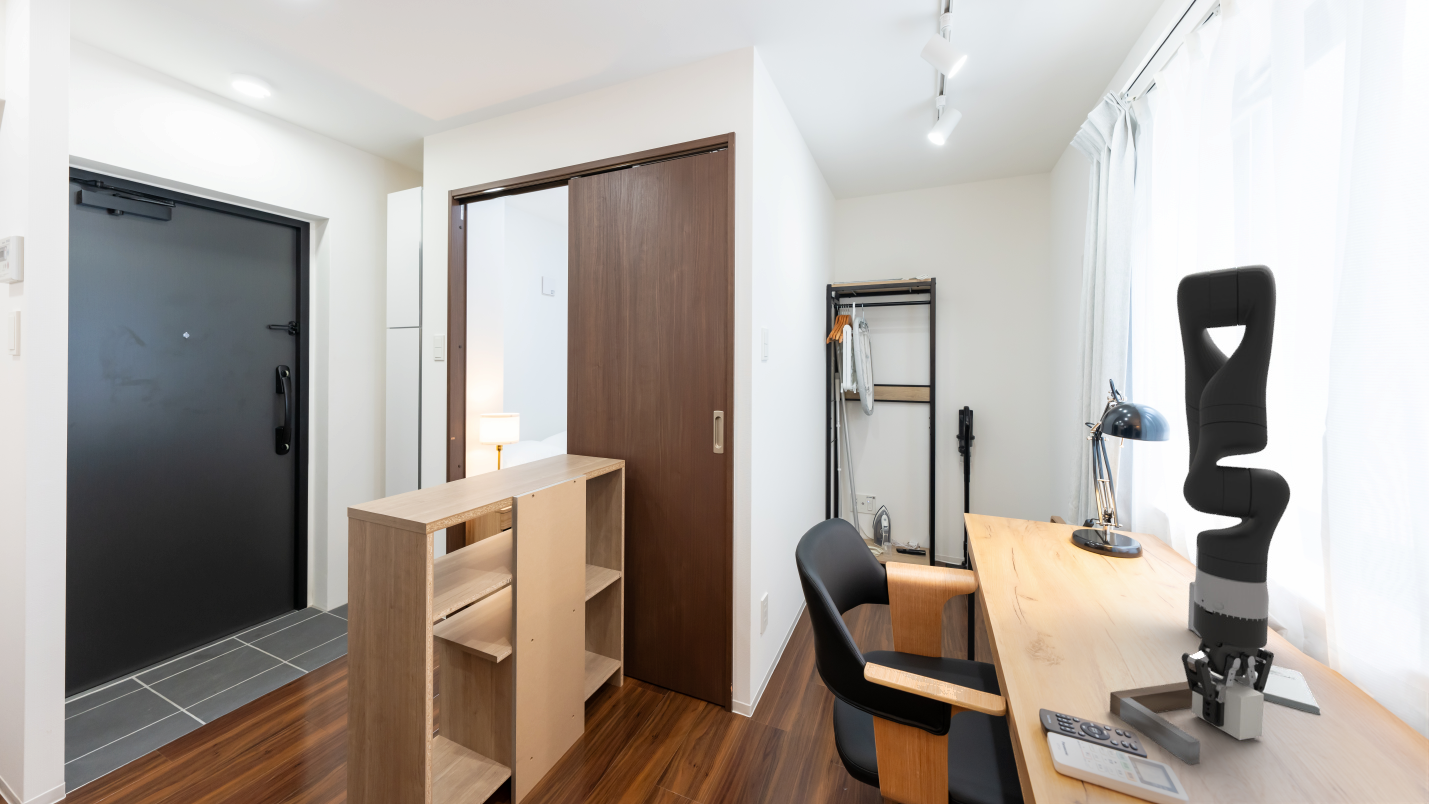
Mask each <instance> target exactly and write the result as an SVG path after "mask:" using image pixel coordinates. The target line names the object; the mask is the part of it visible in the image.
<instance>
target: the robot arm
mask: <svg viewBox="0 0 1429 804" xmlns="http://www.w3.org/2000/svg"><path fill="white" fill-rule="evenodd" d="M1176 291H1177V292H1176V307H1177V313H1178V315H1177V317H1178V321H1179V322H1178V323H1179V329H1180V335H1181V342H1182V343H1181V344H1182V350H1183V357H1184V403H1185V415H1186V417H1185V418H1186V423H1187V424H1186V425H1187V434H1188V435H1187V436H1188V444H1189V445H1188V446H1189V450H1188V452H1189V453H1188V454H1189V458H1188V472H1187V475H1186V477H1185V480H1184V483H1183V488H1182V489H1183V490H1182V493H1183V497H1184V500H1185V501H1186V502H1187V504H1188V505H1189V506H1190V508H1192V509H1194V511H1196V512H1200V513H1202V514H1208V515H1213V516H1214V515H1216V516H1221V517H1228V518H1236V519H1240V520H1241V521H1240V522H1239V523H1238V524H1234V525H1232V526H1229V527H1225V528H1216V529H1215V528H1213V529H1206V530H1203V531H1200V532H1198V533H1197V535H1196V554H1195V555H1196V559H1195V579H1194V581H1191V582H1190V583H1189V590H1188V615H1187V616H1188V618H1187V619H1188V620H1187V628H1188V629H1189V630H1191V631H1192V632H1194V634H1196V635H1197V636H1198V637H1200V638H1201V640H1200V644H1199V646H1198V652H1196V653H1194V654H1190V653H1187V652H1183V654H1182V656H1181V661H1182V664H1183V668H1184V669H1183V670H1184V673H1185V677H1186V680H1187V681H1188V685H1189V688H1190V690H1192V691H1194V692H1196V693H1198V694H1200V695H1202V696H1203V706H1202V709H1203V710H1202V715H1203V718H1204V719H1205V720H1204V719H1203V720H1204V721H1205V722H1207V721H1208V722H1207V723H1209V722H1210V723H1209V724H1211V725H1212V726H1214V725H1215V727H1216V726H1217V727H1216V728H1218V727H1221V726H1224V706H1225V703H1224V702H1223V701H1224V699H1225V695H1226V690H1227V688H1231V687H1232V685H1233V681H1234V680H1235V681H1237V682H1239V683H1241V684H1243V685H1244V686H1246V687H1250V688H1252V689H1254V690H1256V691H1259V692H1263V691H1264V688H1265V685H1266V682H1267V678H1268V675H1269V672H1270V668H1271V665H1273V662H1274V661H1273V660H1274V658H1275V654H1274V653H1273V652H1271V651H1269V650H1267V649H1265V647H1266V646H1267V645H1268V630H1269V629H1268V624H1269V604H1270V602H1269V601H1270V599H1269V597H1270V596H1269V590H1268V581H1267V580H1268V560H1269V559H1268V558H1269V551H1270V546H1271V541H1272V539H1273V536H1274V535H1275V532H1276V529H1277V526H1278V525H1279V523H1280V521H1281V519H1282V517H1283V516H1284V513H1285V511H1286V510H1287V508H1288V505H1289V502H1290V498H1291V489H1290V486H1289V484H1288V481H1287V479H1285V477H1284V476H1283V475H1281V474H1280V473H1278V472H1277V471H1275V470H1272V469H1266V468H1257V467H1245V466H1231V465H1218V464H1217V463H1218V462H1219V461H1220V460H1222V459H1223V458H1227V457H1233V456H1242V455H1243V456H1245V455H1252V454H1257V453H1260V452H1262V451H1264V449H1266V447H1267V445H1268V438H1269V437H1268V417H1267V416H1268V415H1267V385H1268V375H1269V368H1270V363H1271V362H1270V361H1271V356H1272V350H1273V339H1274V331H1275V320H1276V306H1277V286H1276V279H1275V275H1274V273H1273V270H1272V269H1271V268H1270V267H1269V266H1267V265H1265V264H1252V265H1251V264H1249V265H1241V266H1237V267H1236V266H1234V267H1226V268H1219V269H1213V270H1207V271H1206V270H1205V271H1201V272H1199V271H1198V272H1194V273H1193V272H1192V273H1188V274H1187V275H1185V276H1183V277H1182V278H1181V280H1179V283H1178V287H1177V290H1176ZM1240 326H1241V327H1242V326H1245V327H1244V328H1245V329H1244V332H1243V336H1242V339H1241V341H1240V343H1239V345H1238V346H1237V347H1236V349H1235V350H1234V352H1233V353H1232V354H1231V356H1230V357H1228V356H1227V354H1225V353H1224V352H1223V351H1222V350H1221V349H1220V348H1219V347H1218V346H1217V344H1216V343H1215V342H1214V340H1213V339H1212V337H1211V335H1210V334H1209V331H1208V329H1215V328H1216V329H1217V328H1229V327H1240ZM1257 663H1258V664H1257ZM1210 671H1212V672H1214V673H1216V674H1218V675H1220V676H1223V679H1221V678H1219V677H1217V676H1215V675H1213V674H1212V673H1211V672H1210ZM1255 672H1257V674H1258V675H1257V679H1256V675H1255ZM1211 681H1212V682H1214V683H1216V684H1217V688H1216V691H1215V690H1213V686H1212V682H1211ZM1198 682H1199V683H1200V684H1198Z"/></svg>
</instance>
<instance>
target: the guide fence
mask: <svg viewBox="0 0 1429 804" xmlns="http://www.w3.org/2000/svg"><path fill="white" fill-rule="evenodd" d="M1192 692H1193V691H1192V690H1190V688H1189V685H1188V681H1186V680H1185V681H1180V682H1175V683H1174V682H1173V683H1165V684H1159V685H1151V686H1145V687H1144V686H1143V687H1137V688H1131V689H1124V690H1123V689H1122V690H1116V691H1110V692H1109V695H1110V696H1109V712H1110V713H1111V714H1113V715H1115V716H1116V717H1117V718H1119V719H1121V720H1122V721H1123V722H1125V723H1126V724H1128V725H1129V726H1131V727H1133V728H1134V729H1135V730H1136V731H1138V732H1140V733H1141V734H1143V735H1144V736H1146V737H1147V738H1149V739H1150V740H1151V741H1153V742H1155V743H1156V744H1158V745H1159V744H1160V745H1159V746H1161V745H1162V746H1163V747H1162V746H1161V747H1162V748H1163V749H1165V748H1166V749H1165V750H1166V751H1168V752H1169V753H1171V754H1173V755H1174V756H1175V757H1177V758H1179V759H1180V760H1182V761H1183V762H1185V763H1186V764H1188V765H1196V764H1200V749H1201V747H1200V746H1201V741H1200V740H1199V739H1197V737H1195V736H1193V735H1192V734H1189V733H1188V732H1186V731H1185V730H1183V729H1181V728H1180V727H1178V726H1176V725H1175V724H1174V723H1172V722H1170V721H1169V720H1167V719H1165V718H1164V717H1162V716H1161V715H1159V714H1157V713H1162V712H1168V711H1174V710H1181V709H1188V708H1192Z"/></svg>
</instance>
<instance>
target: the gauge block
mask: <svg viewBox="0 0 1429 804" xmlns="http://www.w3.org/2000/svg"><path fill="white" fill-rule="evenodd" d="M1210 672H1211V673H1212V674H1213V675H1215V676H1217V677H1219V678H1221V679H1223V676H1220V675H1218V674H1216V673H1214V672H1212V671H1210ZM1211 682H1212V681H1211ZM1198 684H1200V683H1199V682H1198ZM1212 686H1213V690H1215V691H1216V688H1217V684H1216V683H1214V682H1212ZM1223 702H1224V703H1225V706H1224V726H1221V727H1217V726H1215V725H1213V726H1215V727H1216V728H1217V729H1219V730H1221V731H1223V732H1224V733H1227V734H1228V735H1230V736H1231V737H1233V738H1236V739H1237V740H1239V741H1241V740H1248V739H1253V738H1258V737H1263V721H1264V718H1263V717H1264V694H1262V693H1260V692H1258V691H1256V690H1254V689H1252V688H1250V687H1246V686H1244V685H1243V684H1241V683H1239V682H1237V681H1235V680H1234V681H1233V685H1232V687H1231V688H1227V690H1226V695H1225V699H1224V701H1223ZM1202 706H1203V696H1202V695H1200V694H1198V693H1196V692H1194V691H1193V692H1192V707H1191V713H1192V714H1194V715H1195V716H1197V717H1199V718H1201V719H1202V720H1204V721H1206V720H1205V719H1204V718H1203V715H1202V710H1203V709H1202ZM1206 722H1207V723H1209V724H1211V723H1210V722H1208V721H1206Z"/></svg>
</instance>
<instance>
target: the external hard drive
mask: <svg viewBox="0 0 1429 804" xmlns="http://www.w3.org/2000/svg"><path fill="white" fill-rule="evenodd" d="M1257 664H1258V663H1257ZM1255 675H1256V679H1257V675H1258V674H1257V672H1255ZM1258 692H1259V691H1258ZM1260 693H1262V694H1264V699H1263V701H1268V702H1271V703H1275V704H1280V705H1282V706H1285V707H1286V706H1287V707H1290V708H1294V709H1298V710H1301V711H1304V712H1307V713H1312V714H1315V715H1320V714H1321V708H1320V706H1319V704H1318V703H1317V700H1316V699H1315V697H1314V695H1313V693H1312V691H1311V688H1310V687H1309V685H1308V682H1307V681H1306V679H1305V677H1304V675H1303V674H1302V672H1300V671H1298V670H1295V669H1294V670H1293V669H1290V668H1286V667H1282V666H1278V665H1274V664H1272V665H1271V668H1270V672H1269V675H1268V678H1267V682H1266V685H1265V688H1264V691H1263V692H1260Z"/></svg>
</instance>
